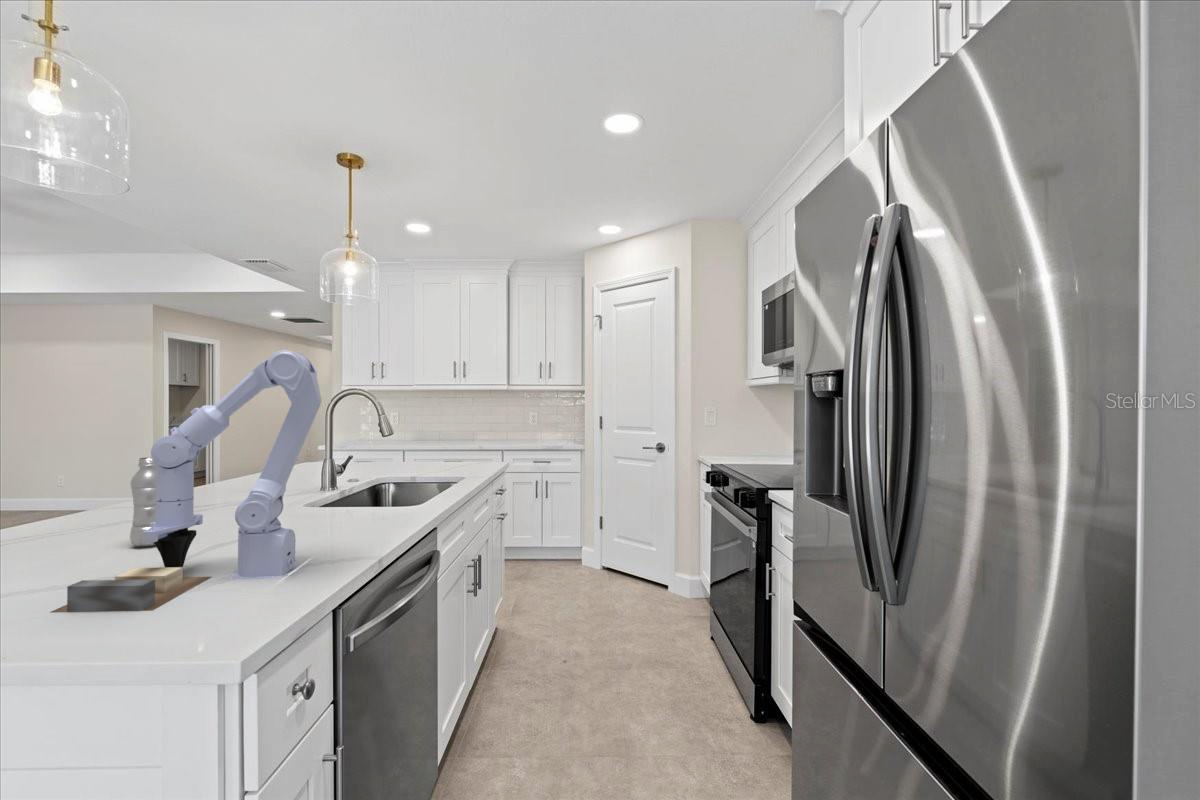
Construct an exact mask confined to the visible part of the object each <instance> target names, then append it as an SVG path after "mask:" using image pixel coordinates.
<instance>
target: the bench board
mask: <svg viewBox="0 0 1200 800" xmlns="http://www.w3.org/2000/svg"><path fill="white" fill-rule="evenodd" d="M211 578H212V576H183V584H181V585H179V586H177V587H176V588H174V589H172V590H170V591H168V592H166V593H155V580H115V579H103V580H102V579H97V580H96V579H95V580H94V579H91V580H90V579H87V580H80V581H78V582H75V583H73V584H71V585H68V586H67V591H66V592H67V594H66V595H67V596H66V598H67V599H66V603H67V604H64V605H63V606H60V607H58V608H56V609H54V610H51V611H50V612H49V613H50V614H51V613H93V612H94V613H96V612H98V613H99V612H104V613H105V612H108V613H109V612H149V611H151V612H153V611H154V610H156V609H158V608H160V607H162V606H163V605H166V604H167V603H169V602H170V601H172V600H174V599H176V598H178V597H179V596H181V595H183V594H184V593H186V592H188V591H190V590H192V589H194V588H195V587H198V586H199V585H201V584H203V583H204V582H206V581H208V580H210V579H211Z"/></svg>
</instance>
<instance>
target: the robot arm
mask: <svg viewBox="0 0 1200 800" xmlns="http://www.w3.org/2000/svg"><path fill="white" fill-rule="evenodd" d="M317 375H318V374H317V369H316V368H315V367H314V365H313V364H312V362H311V360H310V359H309V358H308V357H307V356H305V354H304V355H303V354H301V353H298V352H294V351H291V350H279V351H276V352H274V353H273V354H272V355H270V356H269V358H268V359H265V360H263V361H262V362H260V363H259V364H258V365H257V366H256V367H255V368H254V369H252V370H251V371H250V372H249V373H248V374H246V376H244V378H243V379H241V381H239V382H238V383H237V384H236V385H235V386H234V387H233V388H231V390H229V392H228V393H227V394H225V395H224V396H222V398H221V399H220V400H219V401H217V403H216V404H214V405H210V404H209V405H207V404H205V405H202V406H201V407H195V408H193V409H192V410H191V411H190V412H189V413H190V414H191V415H190V416H189V417H188V418H187V419H185V421H184V422H182V423H181V424H180V425H179V426H174V427H172V428H171V429H170V430H169V432H170V433H171V435H164V436H161V437H159V438H157V440H156V441H155V443H154V444H153V445H152V447H151V448H150V457H152V459H153V461H154V462H155V463H156V464H157V475H156V522H152V523H150V524H149V527H150V528H149V529H148V530H146V531H143V542H153V543H154V545H153V546H155V548H156V549H157V551H158V552H159V555H160V557H161V559H162V563H163V566H164V567H184V564H185V562H186V561H185V560H186V557H187V554H188V551H189V548H190V546H191V544H192V543H193V541H194V539H195V538H196V536H197V530H195V529H189V528H191V527H194V526H200V525H203V523H204V522H203V521H204V520H203V518H204V516H203V514H202V513H201V514H199V513H197V514H194V500H195V499H194V498H195V497H194V495H195V494H194V493H195V492H194V489H195V488H194V487H195V486H194V484H195V473H194V471H195V470H194V465H195V464H194V462H195V460H196V459H197V458H198V457H199V455H200V452H201V450H203V449H204V448H206V447H207V446H208V445H209V444H211V442H213V441H214V440H215V439H216V438H217V437H218V436H219V435H221V434H222V433H223V432H224V431H225V430H226V429H227V428H229V425H230V417H231V416H232V415H233V414H235V412H237V411H238V410H239V409H241V408H242V407H243V406H244V405H245V404H247V403H249V401H251V400H252V399H254V398H255V396H257V395H258V394H259V393H260V392H262V391H264V390H265V389H269V388H273V387H279V386H280V387H281V388H282V389H283V390H284V392H285V393H286V395H287V397H288V399H289V400H290V402H291V404H290V407H289V409H288V411H287V413H286V416H285V417H284V420H283V423H282V426H281V428H280V430H279V432H278V434H277V437H276V439H275V441H274V442H273V446H272V447H271V450H270V452H269V455H268V457H267V459H266V462H265V464H264V466H263V469H262V470H261V473H260V476H259V477H258V479H257V480H256V482H255V484H254V485H253V487H252V488H251V489H250V492H249V494H248V495H247V497H246V498H245V500H243V501H242V502H241V503H240V504H239V505H238V506H237V508H236V509H235V513H234V519H235V522H236V524H237V526H238V529H237V530H238V531H237V535H238V536H237V537H238V538H237V541H238V542H237V571H236V572H234V573H233V574H231V575H229V576H228V577H227V578H228V579H271V578H272V579H273V578H274V579H275V578H277V579H278V578H281V577H283V576H284V575H286V574H287V573H288V572H289V571H291V570H293V569H295V568H296V567H297V566H298V565H297V564H296V542H297V541H296V534H295V531H294V530H293V529H291V528H284V527H282V523H281V521H280V520H279V519H278V518H279V516H280V515H281V514H282V512H283V510H284V499H283V498H284V496H285V493H286V491H287V490H286V489H287V483H288V480H289V478H290V476H291V473H292V471H293V469H294V467H295V464H296V461H297V460H298V457H299V454H300V453H301V451H302V448H303V446H304V444H305V442H306V439H307V438H308V435H309V433H310V430H311V427H312V426H313V423H314V421H315V419H316V416H317V414H318V412H319V410H320V407H321V404H322V396H321V391H320V385H319V381H318V378H317V377H318V376H317Z"/></svg>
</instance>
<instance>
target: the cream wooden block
mask: <svg viewBox="0 0 1200 800" xmlns="http://www.w3.org/2000/svg"><path fill="white" fill-rule="evenodd" d="M183 567H184V566H183ZM183 567H165V566H164V567H163V566H162V567H134V568H132V569H129V570H126V571H125V572H121V573H120V574H118V575H116V576H114V580H155V593H166V592H168V591H170V590H172V589H174V588H176V587H177V586H179V585H181V584H183V577H184V575H183V573H184V571H183V570H184V568H183Z"/></svg>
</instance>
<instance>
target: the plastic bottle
mask: <svg viewBox="0 0 1200 800" xmlns="http://www.w3.org/2000/svg"><path fill="white" fill-rule="evenodd" d="M137 466H138V468H139V469H138V470H137V471H136V473H135V474H134V475H133V476H132V478H131V480H130V488H131V493H132V495H131V496H132V503H133V515H132V526H131V529H130V533H129V539H130V543H131V544H132V545H133V546H134V547H145V546H147V547H151V546H152V547H153V546H155V545H154V543H153V542H143V531H146V530H148V529H149V528H150V527H149V524H150V523H152V522H156V475H157V464H156V463H155V462H154V461H153V459H152V457H151V456H149V457H148V456H144V457H139V459H138V465H137Z"/></svg>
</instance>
